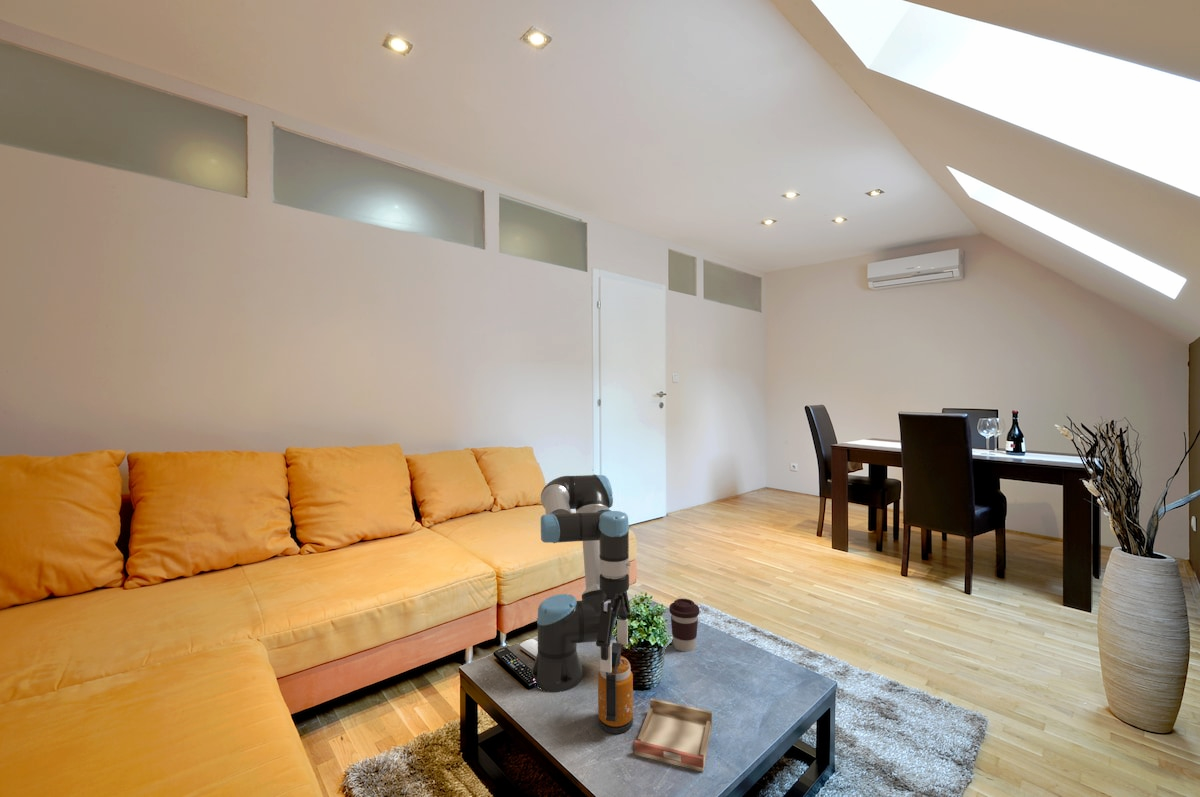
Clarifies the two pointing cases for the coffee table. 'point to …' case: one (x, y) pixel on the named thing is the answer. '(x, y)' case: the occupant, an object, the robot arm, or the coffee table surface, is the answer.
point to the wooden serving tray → (675, 734)
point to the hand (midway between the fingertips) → (614, 657)
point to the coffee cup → (684, 624)
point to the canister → (616, 694)
